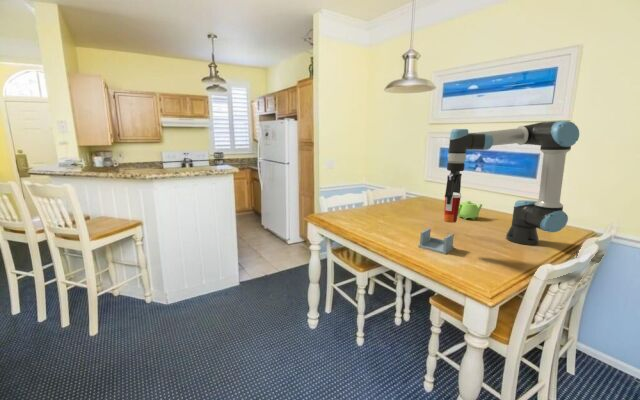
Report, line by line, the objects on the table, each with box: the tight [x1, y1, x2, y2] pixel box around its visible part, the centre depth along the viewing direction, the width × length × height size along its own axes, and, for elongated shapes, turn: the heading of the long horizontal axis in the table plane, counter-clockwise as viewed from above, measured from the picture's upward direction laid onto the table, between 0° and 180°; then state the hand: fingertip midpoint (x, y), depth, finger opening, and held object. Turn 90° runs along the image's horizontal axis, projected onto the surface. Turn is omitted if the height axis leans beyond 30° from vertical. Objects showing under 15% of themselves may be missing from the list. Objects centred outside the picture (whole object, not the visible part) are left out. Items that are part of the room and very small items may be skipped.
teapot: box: [457, 200, 483, 221], centre depth 214 cm, size 20×13×13 cm
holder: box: [417, 227, 455, 255], centre depth 156 cm, size 14×12×8 cm
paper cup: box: [443, 192, 462, 224], centre depth 146 cm, size 8×8×14 cm
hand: (451, 209), depth 146 cm, fingers closed on paper cup, 8 cm apart
